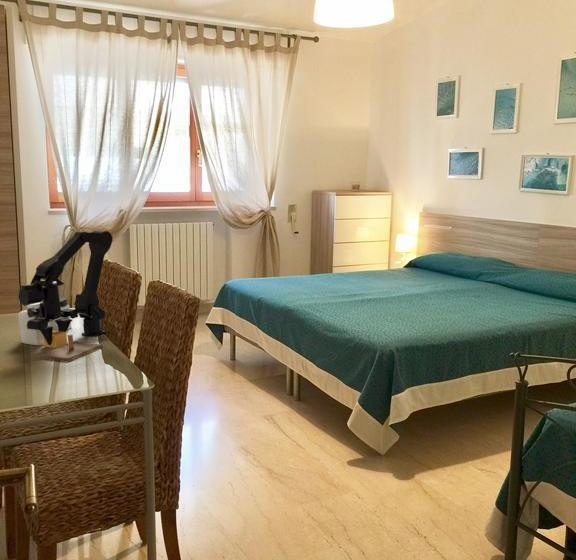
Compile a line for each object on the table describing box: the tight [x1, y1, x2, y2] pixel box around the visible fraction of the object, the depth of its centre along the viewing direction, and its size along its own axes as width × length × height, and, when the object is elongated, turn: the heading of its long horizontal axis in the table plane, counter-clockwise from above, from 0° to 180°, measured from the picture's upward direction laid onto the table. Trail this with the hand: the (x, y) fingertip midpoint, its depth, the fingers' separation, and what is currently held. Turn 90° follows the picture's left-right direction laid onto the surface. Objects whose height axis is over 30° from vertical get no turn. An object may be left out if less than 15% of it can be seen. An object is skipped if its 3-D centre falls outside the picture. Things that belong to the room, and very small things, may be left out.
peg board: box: [39, 334, 103, 363], centre depth 205 cm, size 16×12×6 cm
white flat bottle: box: [17, 309, 44, 346], centre depth 218 cm, size 10×4×12 cm, turn 60°
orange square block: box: [43, 331, 68, 349], centre depth 215 cm, size 5×5×4 cm
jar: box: [49, 296, 72, 331], centre depth 235 cm, size 9×8×12 cm
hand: (55, 342), depth 215 cm, fingers closed on orange square block, 5 cm apart
